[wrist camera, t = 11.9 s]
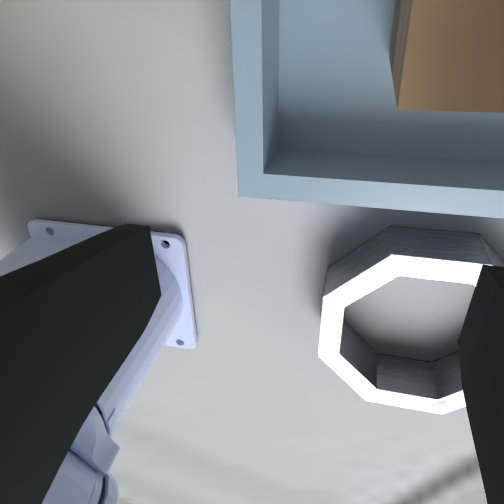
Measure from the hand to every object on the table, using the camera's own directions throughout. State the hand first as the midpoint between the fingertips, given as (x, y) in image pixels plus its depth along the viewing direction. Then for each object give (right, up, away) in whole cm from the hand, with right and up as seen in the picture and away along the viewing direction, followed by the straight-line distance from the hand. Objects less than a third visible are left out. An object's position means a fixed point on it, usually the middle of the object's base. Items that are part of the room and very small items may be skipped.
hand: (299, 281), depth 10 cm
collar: (+7, -2, +12) cm, 14 cm away
